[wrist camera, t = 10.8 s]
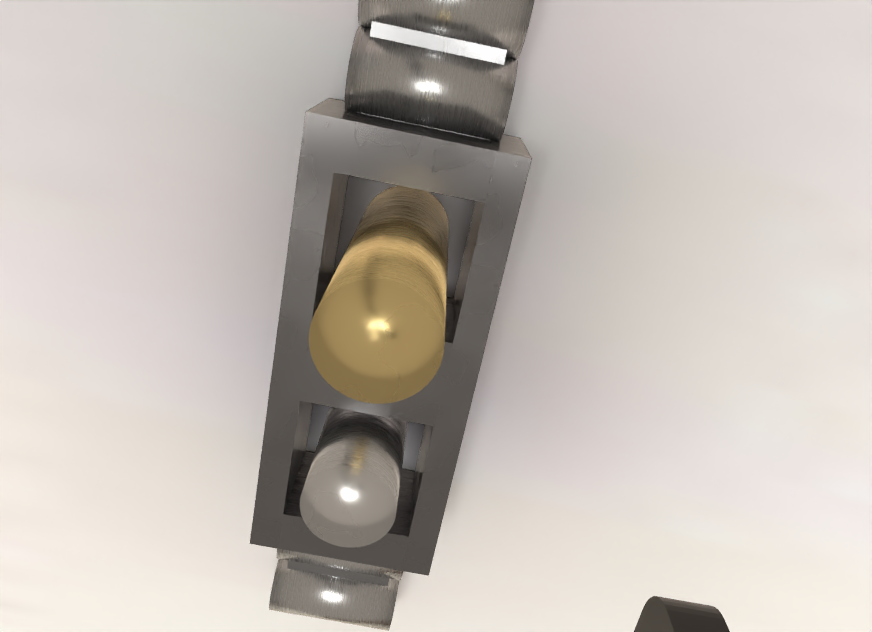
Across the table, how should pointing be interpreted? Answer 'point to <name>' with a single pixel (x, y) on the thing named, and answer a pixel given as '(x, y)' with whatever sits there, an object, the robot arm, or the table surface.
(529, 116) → the table surface
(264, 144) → the table surface
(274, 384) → the dark grey slotted block
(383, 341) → the brass pin
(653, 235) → the table surface
